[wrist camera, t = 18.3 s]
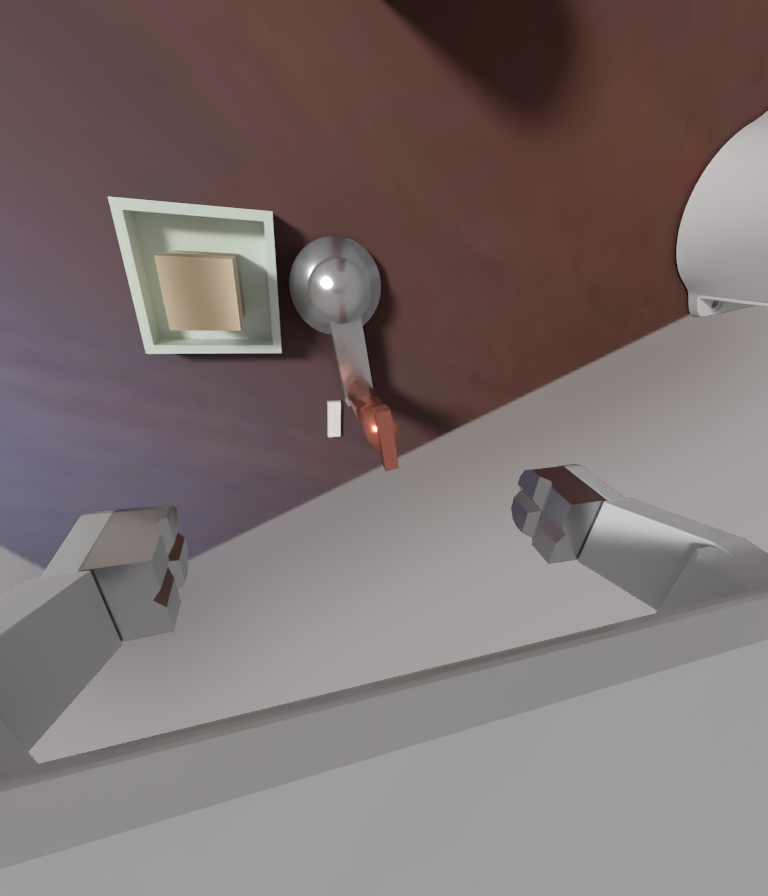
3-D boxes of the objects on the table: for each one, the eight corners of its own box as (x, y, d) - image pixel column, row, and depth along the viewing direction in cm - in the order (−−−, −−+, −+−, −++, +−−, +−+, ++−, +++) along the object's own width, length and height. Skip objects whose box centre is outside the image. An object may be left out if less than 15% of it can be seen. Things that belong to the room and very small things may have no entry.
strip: (340, 400, 34) (341, 401, 34) (340, 435, 36) (340, 436, 36) (327, 400, 34) (327, 402, 34) (327, 435, 36) (328, 437, 36)
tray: (271, 212, 26) (272, 211, 24) (280, 344, 31) (281, 353, 29) (121, 199, 24) (107, 196, 22) (154, 344, 28) (145, 353, 26)
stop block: (238, 253, 26) (232, 259, 21) (245, 312, 28) (240, 330, 23) (175, 250, 25) (153, 255, 20) (187, 312, 27) (169, 330, 22)
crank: (301, 262, 27) (317, 277, 18) (360, 251, 27) (402, 261, 19) (336, 414, 33) (360, 478, 25) (383, 403, 34) (423, 461, 26)
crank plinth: (379, 239, 29) (383, 239, 28) (374, 332, 32) (378, 335, 31) (286, 232, 27) (286, 232, 26) (291, 331, 30) (292, 334, 29)
